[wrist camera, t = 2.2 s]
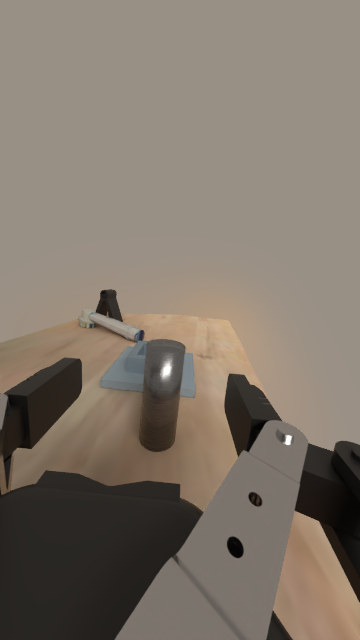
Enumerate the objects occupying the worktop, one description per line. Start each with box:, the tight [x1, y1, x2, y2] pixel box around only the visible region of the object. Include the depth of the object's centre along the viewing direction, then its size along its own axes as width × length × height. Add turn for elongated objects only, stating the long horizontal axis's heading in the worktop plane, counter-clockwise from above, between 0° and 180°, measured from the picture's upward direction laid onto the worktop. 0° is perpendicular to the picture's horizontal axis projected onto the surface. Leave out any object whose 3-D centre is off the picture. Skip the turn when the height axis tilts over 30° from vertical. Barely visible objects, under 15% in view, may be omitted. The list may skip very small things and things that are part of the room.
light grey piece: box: [79, 308, 145, 343], centre depth 62 cm, size 5×7×25 cm
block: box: [100, 341, 196, 398], centre depth 41 cm, size 16×16×4 cm
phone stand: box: [96, 290, 123, 322], centre depth 74 cm, size 9×6×12 cm, turn 79°
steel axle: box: [140, 339, 186, 452], centre depth 24 cm, size 4×4×12 cm
